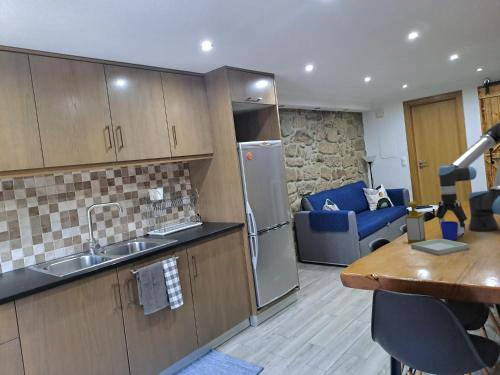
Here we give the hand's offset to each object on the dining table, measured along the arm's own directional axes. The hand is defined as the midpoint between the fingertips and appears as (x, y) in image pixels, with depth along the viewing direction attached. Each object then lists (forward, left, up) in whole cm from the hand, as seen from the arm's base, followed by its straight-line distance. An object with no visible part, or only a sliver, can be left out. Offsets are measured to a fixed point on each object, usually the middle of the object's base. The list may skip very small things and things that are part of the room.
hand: (451, 231), depth 202 cm
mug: (0, 0, -5) cm, 5 cm away
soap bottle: (+14, -11, -5) cm, 18 cm away
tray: (+18, +10, -5) cm, 21 cm away
